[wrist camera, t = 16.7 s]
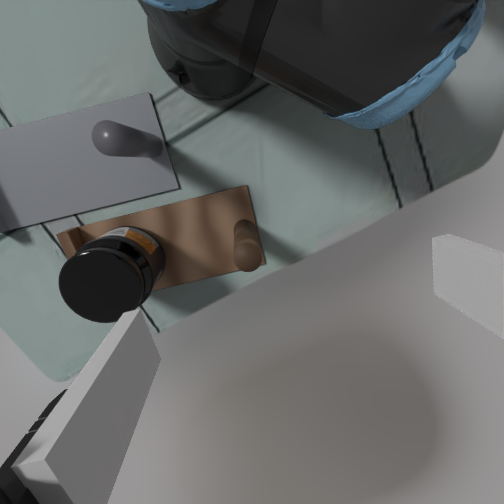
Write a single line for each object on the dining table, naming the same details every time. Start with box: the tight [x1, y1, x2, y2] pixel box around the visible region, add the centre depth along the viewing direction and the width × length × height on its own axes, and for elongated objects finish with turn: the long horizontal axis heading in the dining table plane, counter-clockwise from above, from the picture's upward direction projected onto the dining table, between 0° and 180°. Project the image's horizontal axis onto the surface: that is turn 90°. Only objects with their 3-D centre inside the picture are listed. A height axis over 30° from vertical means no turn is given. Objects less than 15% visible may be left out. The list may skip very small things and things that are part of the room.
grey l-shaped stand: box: [0, 92, 179, 233], centre depth 34 cm, size 28×13×14 cm, turn 103°
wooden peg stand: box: [56, 185, 265, 291], centre depth 38 cm, size 28×13×14 cm, turn 103°
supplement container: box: [59, 226, 166, 323], centre depth 39 cm, size 10×10×12 cm
